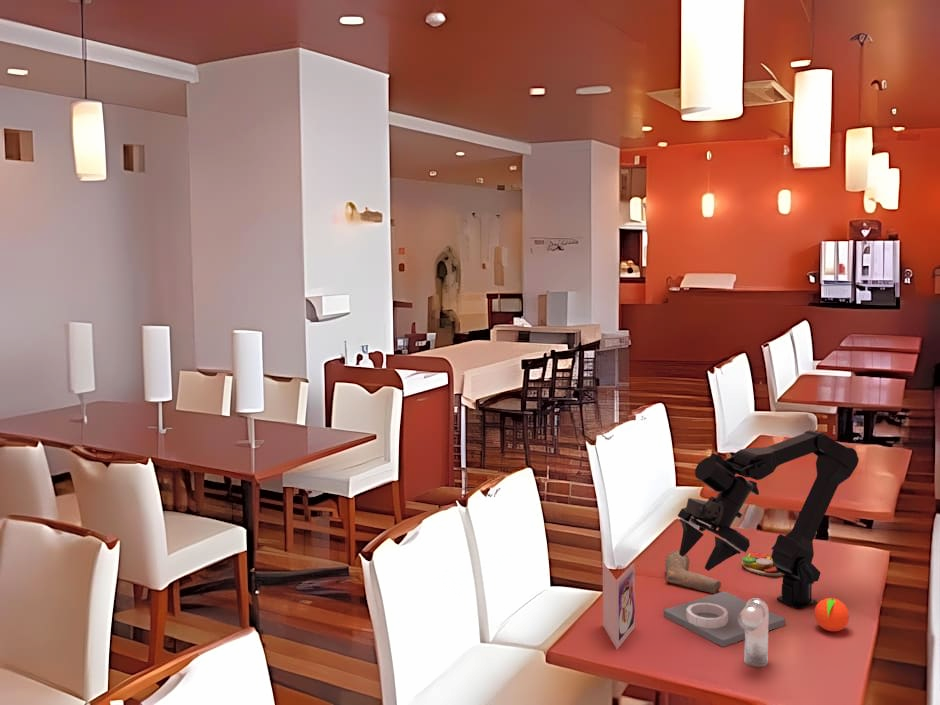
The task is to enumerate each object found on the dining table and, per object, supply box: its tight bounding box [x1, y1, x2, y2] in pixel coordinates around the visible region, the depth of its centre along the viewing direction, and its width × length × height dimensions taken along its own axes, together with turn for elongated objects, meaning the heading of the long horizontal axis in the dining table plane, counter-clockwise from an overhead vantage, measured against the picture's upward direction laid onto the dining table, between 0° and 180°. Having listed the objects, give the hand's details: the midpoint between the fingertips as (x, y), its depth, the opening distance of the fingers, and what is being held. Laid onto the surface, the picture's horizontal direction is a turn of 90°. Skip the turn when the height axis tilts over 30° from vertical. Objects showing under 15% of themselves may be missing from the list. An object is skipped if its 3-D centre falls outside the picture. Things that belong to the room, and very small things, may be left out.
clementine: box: [814, 597, 850, 632], centre depth 187 cm, size 8×7×7 cm
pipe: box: [664, 550, 722, 594], centre depth 215 cm, size 6×17×10 cm
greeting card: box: [602, 561, 636, 650], centre depth 187 cm, size 11×7×15 cm, turn 151°
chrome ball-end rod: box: [738, 597, 770, 668], centre depth 172 cm, size 8×4×13 cm, turn 146°
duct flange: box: [663, 591, 786, 648], centre depth 193 cm, size 19×18×4 cm
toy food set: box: [741, 551, 784, 577], centre depth 223 cm, size 13×13×3 cm
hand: (693, 562), depth 190 cm, fingers open, 9 cm apart
